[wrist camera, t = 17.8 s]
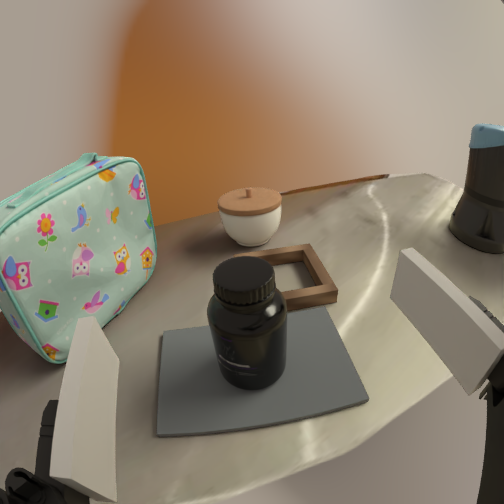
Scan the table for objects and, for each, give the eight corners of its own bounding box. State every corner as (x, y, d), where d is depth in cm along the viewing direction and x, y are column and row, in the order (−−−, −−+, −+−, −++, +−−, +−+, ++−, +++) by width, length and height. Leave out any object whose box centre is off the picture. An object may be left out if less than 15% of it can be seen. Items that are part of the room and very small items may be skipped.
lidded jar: (238, 222, 60) (233, 177, 55) (290, 228, 56) (288, 180, 51) (212, 249, 52) (204, 198, 47) (271, 258, 48) (268, 203, 43)
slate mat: (324, 309, 36) (325, 306, 36) (367, 401, 24) (369, 398, 24) (164, 334, 35) (163, 331, 34) (158, 436, 23) (156, 434, 23)
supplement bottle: (223, 398, 26) (197, 306, 20) (218, 346, 32) (197, 254, 26) (294, 386, 27) (297, 291, 20) (279, 337, 32) (275, 243, 26)
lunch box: (128, 256, 52) (98, 142, 41) (172, 263, 49) (145, 134, 38) (26, 354, 31) (-46, 218, 20) (64, 383, 28) (-28, 220, 17)
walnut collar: (309, 254, 48) (309, 243, 47) (336, 301, 37) (338, 289, 36) (234, 265, 47) (233, 254, 46) (244, 318, 36) (242, 306, 35)
